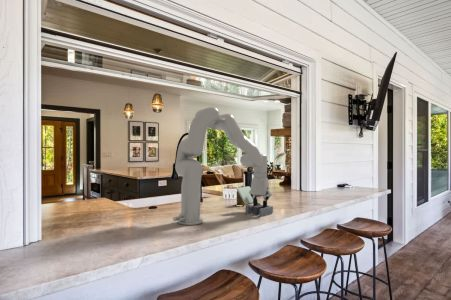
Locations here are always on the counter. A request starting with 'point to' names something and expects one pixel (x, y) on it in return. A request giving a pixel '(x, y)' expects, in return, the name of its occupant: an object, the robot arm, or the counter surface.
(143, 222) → the counter surface
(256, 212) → the gray rectangular prism
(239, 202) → the condiment
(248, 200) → the lid
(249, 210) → the grey u-shaped block
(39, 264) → the counter surface
